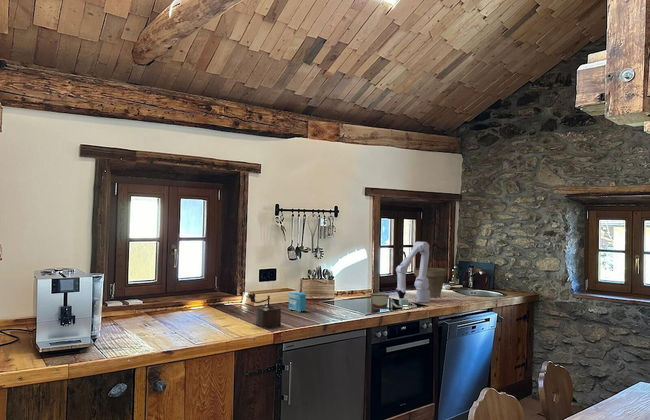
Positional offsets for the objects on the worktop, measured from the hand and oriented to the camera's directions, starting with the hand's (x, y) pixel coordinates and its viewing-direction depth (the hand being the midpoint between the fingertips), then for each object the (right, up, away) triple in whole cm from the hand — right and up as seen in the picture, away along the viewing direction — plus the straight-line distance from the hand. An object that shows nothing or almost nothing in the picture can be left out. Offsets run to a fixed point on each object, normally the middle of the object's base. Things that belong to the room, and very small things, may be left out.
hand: (401, 301), depth 338 cm
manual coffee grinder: (-88, +1, -76) cm, 117 cm away
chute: (0, -2, -2) cm, 2 cm away
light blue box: (-73, 0, -32) cm, 80 cm away
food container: (-18, -1, -19) cm, 26 cm away
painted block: (+1, -2, -5) cm, 5 cm away
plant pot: (+28, -3, +36) cm, 46 cm away
